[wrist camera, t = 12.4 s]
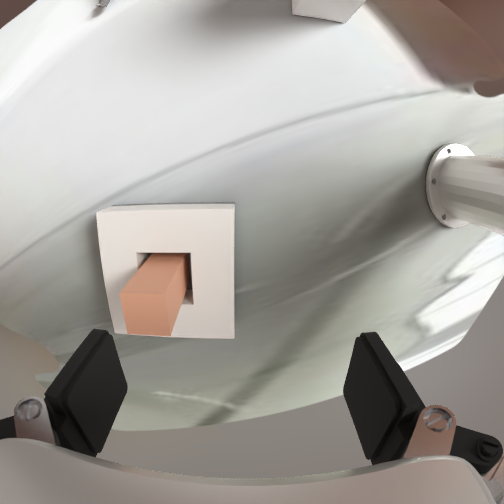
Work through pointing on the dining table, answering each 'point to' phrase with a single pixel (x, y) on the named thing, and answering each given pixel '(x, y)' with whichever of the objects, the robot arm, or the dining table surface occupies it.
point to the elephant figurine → (103, 3)
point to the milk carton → (327, 9)
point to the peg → (155, 294)
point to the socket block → (174, 241)
